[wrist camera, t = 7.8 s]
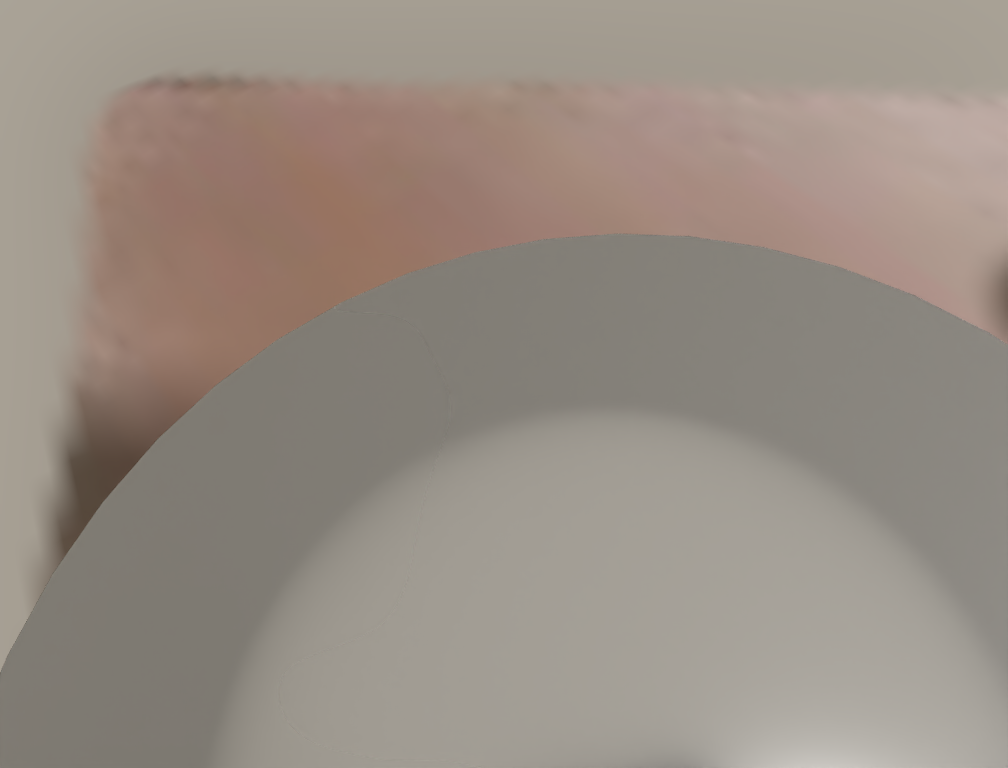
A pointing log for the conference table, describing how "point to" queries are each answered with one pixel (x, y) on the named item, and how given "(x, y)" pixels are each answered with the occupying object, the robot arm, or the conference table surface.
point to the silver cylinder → (554, 533)
